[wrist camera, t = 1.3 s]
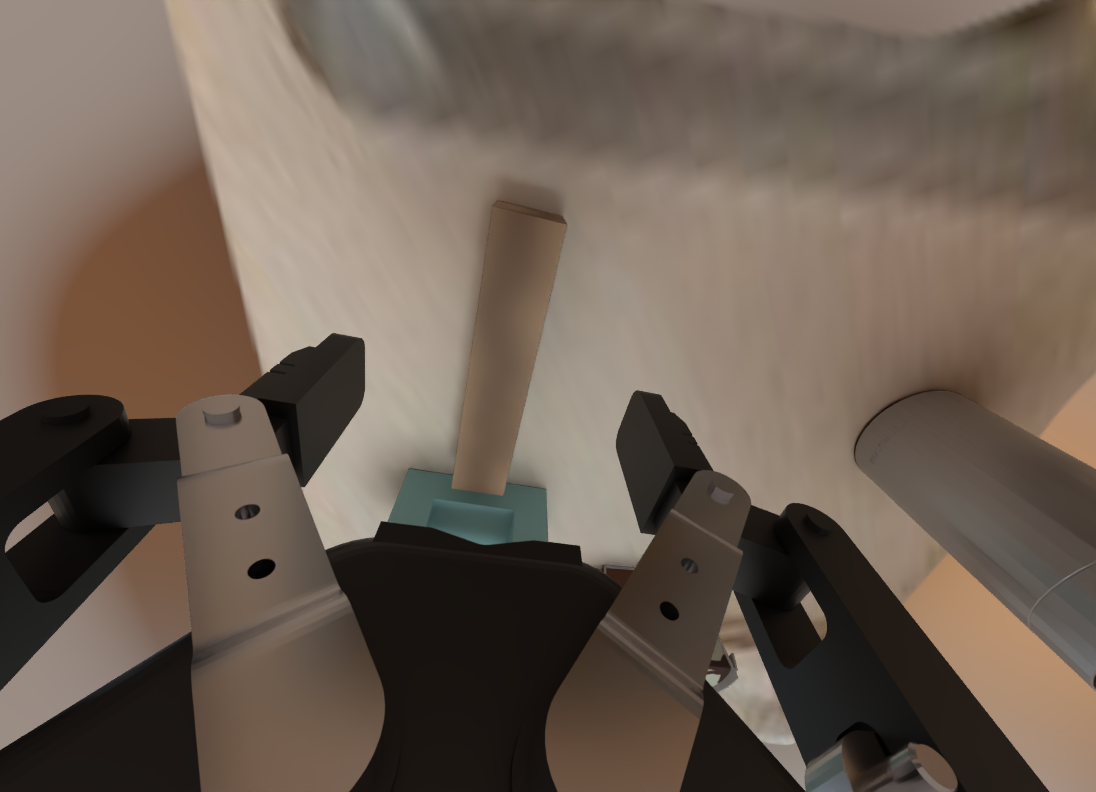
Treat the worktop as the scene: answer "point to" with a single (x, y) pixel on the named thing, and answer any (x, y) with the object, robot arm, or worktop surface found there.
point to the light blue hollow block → (471, 510)
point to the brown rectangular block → (505, 341)
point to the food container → (721, 664)
